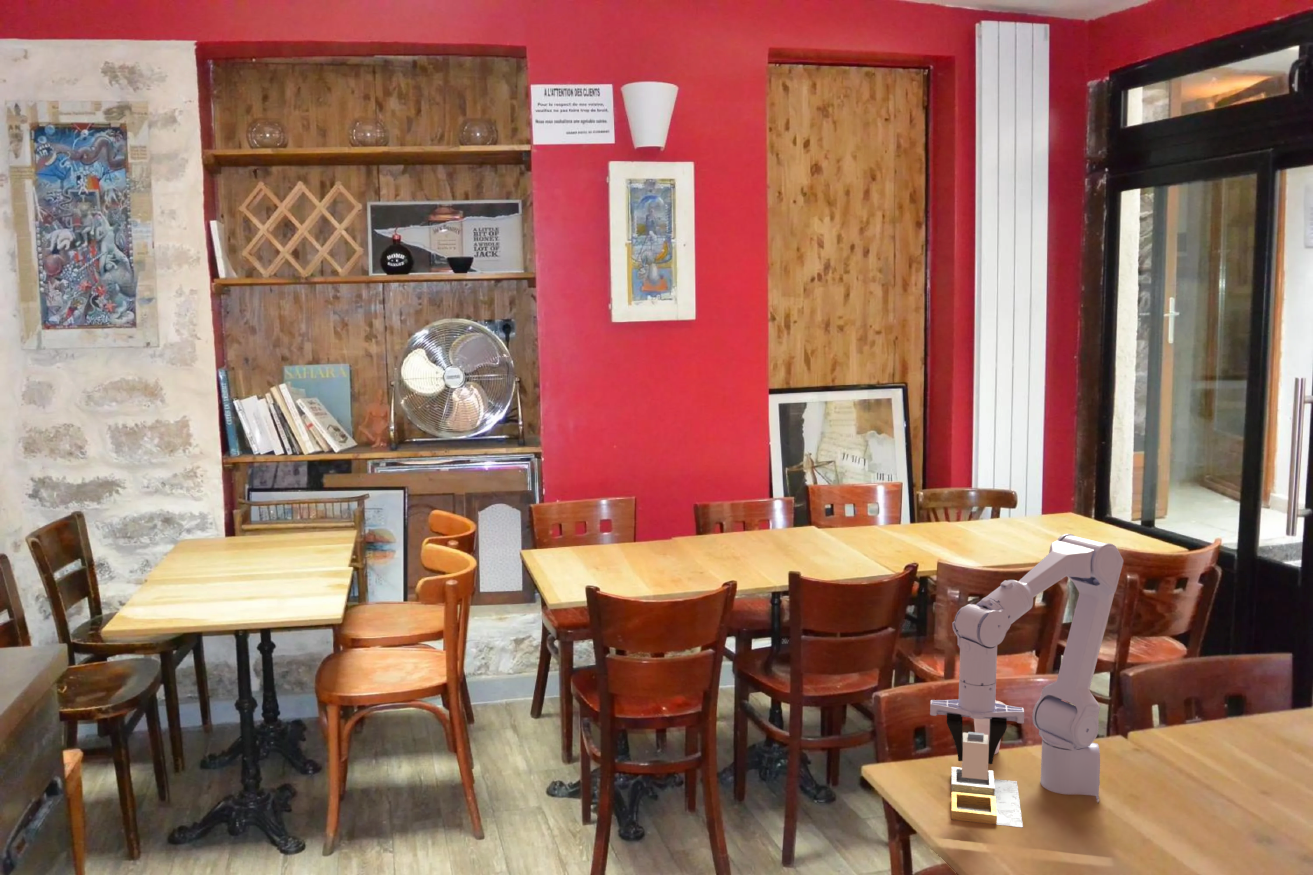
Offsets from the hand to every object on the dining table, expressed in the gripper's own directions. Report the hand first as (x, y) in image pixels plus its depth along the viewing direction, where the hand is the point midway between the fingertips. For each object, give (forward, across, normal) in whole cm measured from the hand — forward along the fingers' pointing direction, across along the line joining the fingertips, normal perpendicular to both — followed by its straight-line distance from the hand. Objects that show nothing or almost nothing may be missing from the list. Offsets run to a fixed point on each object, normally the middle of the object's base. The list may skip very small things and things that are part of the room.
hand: (975, 759), depth 180 cm
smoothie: (+10, +3, +26) cm, 28 cm away
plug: (+2, 0, 0) cm, 2 cm away
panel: (+10, +2, +5) cm, 11 cm away
